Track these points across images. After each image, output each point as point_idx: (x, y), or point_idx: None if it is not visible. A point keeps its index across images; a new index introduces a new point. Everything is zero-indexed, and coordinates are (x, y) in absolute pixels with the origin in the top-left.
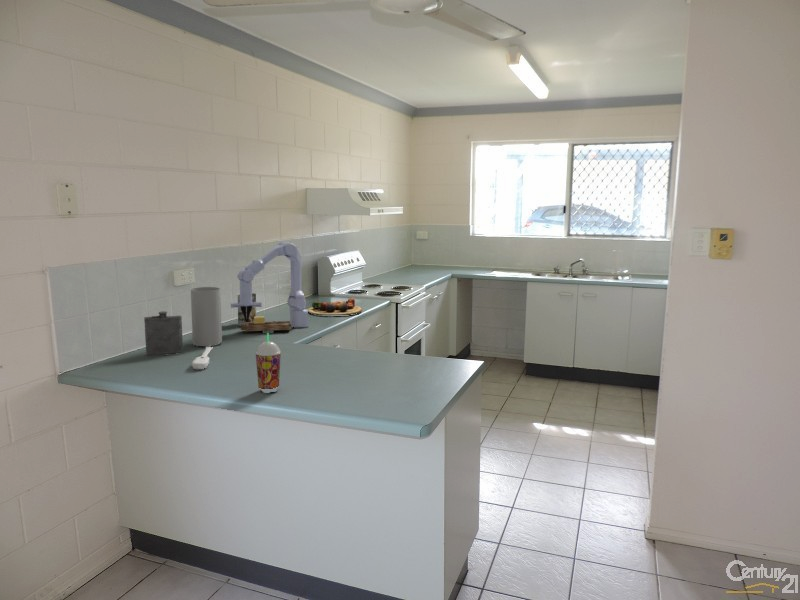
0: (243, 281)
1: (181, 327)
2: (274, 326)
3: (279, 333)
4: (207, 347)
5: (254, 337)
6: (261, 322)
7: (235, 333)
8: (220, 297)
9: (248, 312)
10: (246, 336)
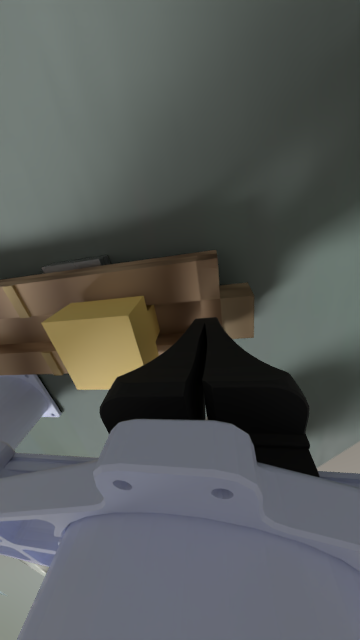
0: None
1: None
2: (18, 281)
3: (24, 262)
4: None
5: (130, 121)
6: (88, 303)
7: (278, 272)
8: None
9: (172, 359)
10: (197, 164)
